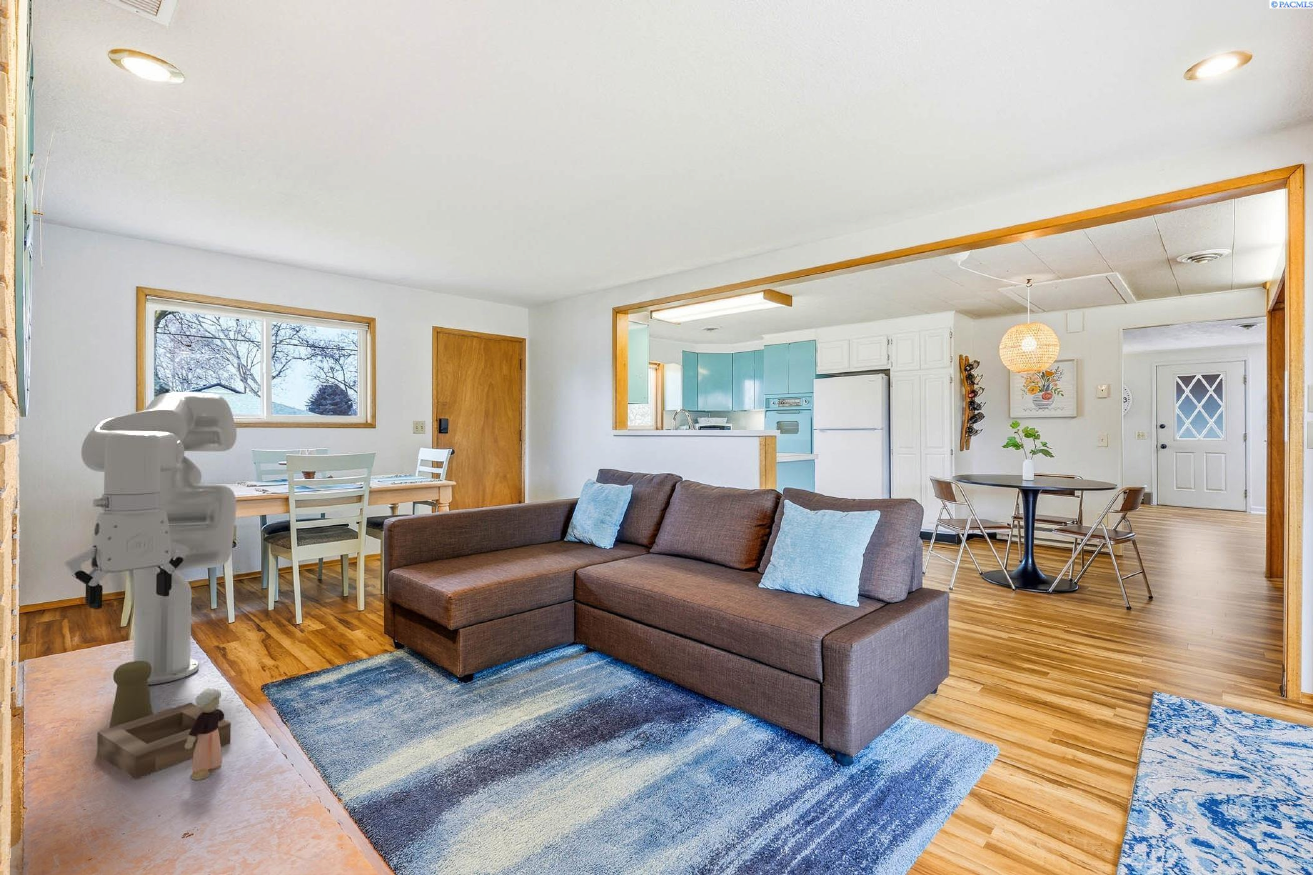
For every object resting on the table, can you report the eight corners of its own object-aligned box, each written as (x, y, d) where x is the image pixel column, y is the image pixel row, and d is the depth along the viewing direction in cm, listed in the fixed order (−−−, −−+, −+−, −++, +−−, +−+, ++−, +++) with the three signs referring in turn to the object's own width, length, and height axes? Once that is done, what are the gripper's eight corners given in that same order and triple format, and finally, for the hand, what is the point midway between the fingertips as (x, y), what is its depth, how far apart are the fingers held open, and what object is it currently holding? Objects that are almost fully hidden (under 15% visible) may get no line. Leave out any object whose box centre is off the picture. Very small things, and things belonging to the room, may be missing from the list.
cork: (127, 735, 106) (129, 671, 106) (99, 730, 107) (100, 667, 107) (162, 719, 112) (163, 658, 112) (135, 715, 113) (136, 655, 113)
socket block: (97, 753, 100) (97, 731, 100) (190, 721, 111) (190, 702, 111) (135, 779, 93) (135, 756, 93) (230, 743, 104) (230, 722, 104)
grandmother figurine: (207, 783, 93) (209, 698, 93) (179, 784, 92) (181, 699, 92) (234, 756, 100) (235, 678, 100) (207, 758, 100) (209, 679, 100)
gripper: (77, 509, 99) (75, 617, 99) (199, 500, 114) (197, 593, 114) (57, 506, 103) (55, 609, 103) (177, 498, 118) (176, 588, 118)
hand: (130, 601), depth 108 cm, fingers open, 9 cm apart
